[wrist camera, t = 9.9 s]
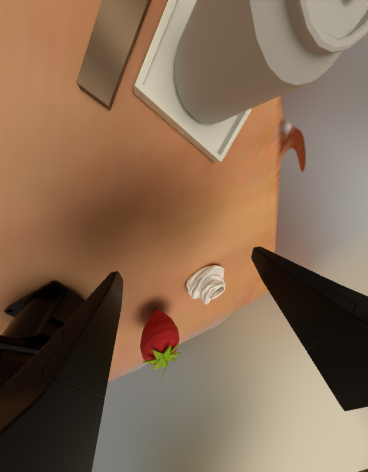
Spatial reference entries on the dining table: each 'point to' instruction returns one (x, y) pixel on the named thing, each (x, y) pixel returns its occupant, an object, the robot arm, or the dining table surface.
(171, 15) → the tray
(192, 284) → the whipped cream
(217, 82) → the can
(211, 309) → the dining table surface
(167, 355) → the strawberry
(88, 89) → the strip
